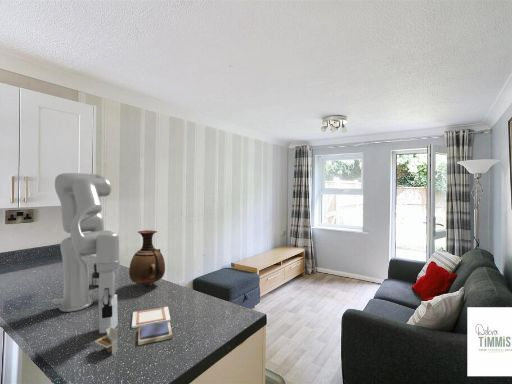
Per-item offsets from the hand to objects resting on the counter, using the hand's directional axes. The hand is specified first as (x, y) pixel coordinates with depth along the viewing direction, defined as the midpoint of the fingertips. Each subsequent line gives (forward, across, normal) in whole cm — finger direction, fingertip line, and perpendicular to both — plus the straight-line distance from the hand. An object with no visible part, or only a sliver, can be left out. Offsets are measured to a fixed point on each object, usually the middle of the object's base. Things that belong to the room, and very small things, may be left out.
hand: (109, 312), depth 101 cm
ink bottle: (+6, -58, -10) cm, 59 cm away
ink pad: (+7, +10, +16) cm, 20 cm away
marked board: (+7, -4, +15) cm, 17 cm away
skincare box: (+7, -1, 0) cm, 7 cm away
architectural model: (+8, +15, +2) cm, 17 cm away
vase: (+6, -44, +14) cm, 47 cm away
